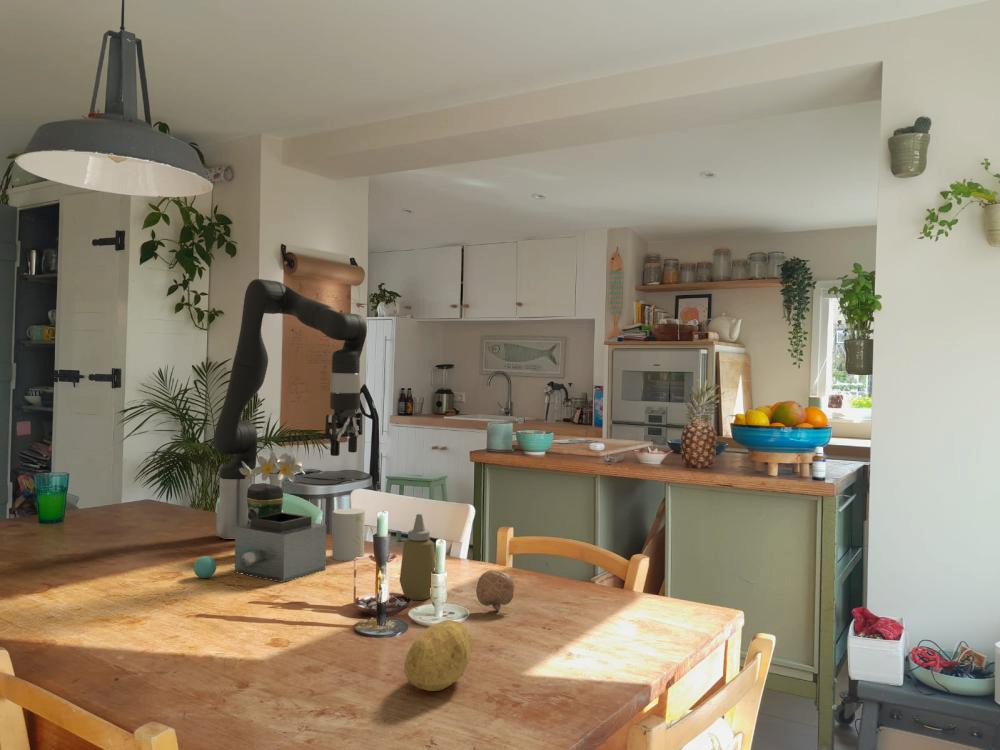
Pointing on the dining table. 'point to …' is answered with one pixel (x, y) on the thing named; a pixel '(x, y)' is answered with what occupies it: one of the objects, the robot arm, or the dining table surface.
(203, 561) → the teal ball
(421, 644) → the potato
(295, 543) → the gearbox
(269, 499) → the coffee jar
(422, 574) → the squeeze bottle
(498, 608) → the mushroom
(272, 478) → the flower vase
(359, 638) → the dining table surface
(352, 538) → the grey cylinder
